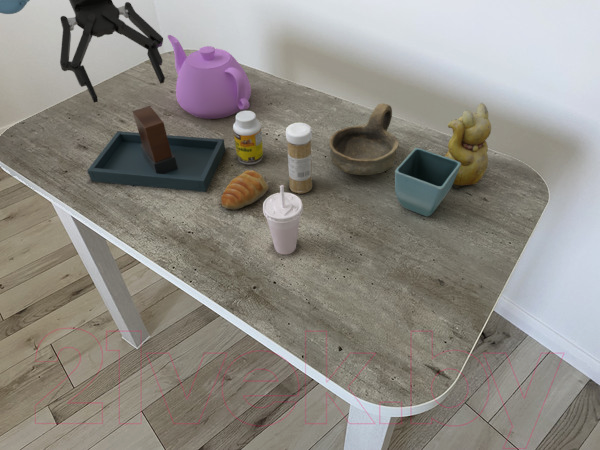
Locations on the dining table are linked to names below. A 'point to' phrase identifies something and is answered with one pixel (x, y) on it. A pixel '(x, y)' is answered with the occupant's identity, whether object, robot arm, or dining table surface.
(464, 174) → the decorative figurine
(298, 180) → the spice jar
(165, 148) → the eraser
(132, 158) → the tray
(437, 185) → the flower pot
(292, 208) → the smoothie
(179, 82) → the teapot
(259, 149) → the supplement bottle
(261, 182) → the pastry
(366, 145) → the bowl
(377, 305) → the dining table surface
